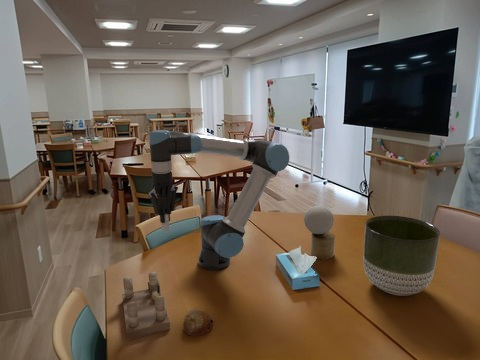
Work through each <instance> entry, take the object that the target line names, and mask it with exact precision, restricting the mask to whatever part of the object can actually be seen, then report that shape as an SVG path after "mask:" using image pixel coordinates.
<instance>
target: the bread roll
mask: <svg viewBox="0 0 480 360" xmlns="http://www.w3.org/2000/svg"><path fill="white" fill-rule="evenodd" d="M213 324H214V320H213V316H212V314H210V313H209V312H207V311H205V310H202V309H199V308H193V309H191V310H190V311H189V312H187V313H186V315H185V318H184V321H183V325H182V328H183V331H184V333H185V334H186V335H188V336H190V337H199V336H202V335H206V334H207V333H209V332H210V331H211V329H212V327H213Z"/></svg>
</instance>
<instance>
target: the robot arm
mask: <svg viewBox="0 0 480 360" xmlns="http://www.w3.org/2000/svg"><path fill="white" fill-rule="evenodd" d="M148 144H149V152H150V165H151V166H150V167H151V172H152V173H151V178H152V179H151V181H152V184H153V185H152V190H151V191H148V192H147V196H148V197H149V198H150V202H151V204H152V207H153V210H154V211H153V212H154V214H155V215H158V216H159V222H160V223H161V230H163V231H165V232H168V231H170V221H171V215H172V212H174V210H175V204H176V196H177V191H178V190H179V188H178V186H177V185H174V184H173V172H172V170H173V164H172V163H173V162H172V156H176V155H178V156H179V155H189V154H190V155H191V154H192V155H193V154H198V153H201V154H202V153H203V154H209V155H218V156H227V157H235V158H238V159H240V160H241V161H247V162H251V166H252V170H251V172H250V175H249V176H248V179H247V181H246V182H245V183H244V186H243V187H242V190H241V191H240V193H239V194H238V196H237V198H236V200H235V202H234V204H233V206H232V208H231V209H230V211H229V213H228V215H227V217H226V216H224V215H220V214H215V215H207V216H204V217H202V218H201V219H200V237H201V238H200V239H201V241H200V242H201V249H200V252H199V256H198V265H199V266H200V268H202V269H204V270H209V271H210V270H211V271H218V270H222V269H225V268H226V267H228V266H229V265H230V264H231V258H233V257H236V256H238V255H239V254H240V253H241V252H242V250H243V248H244V239H243V237H244V236H245V234H246V229H245V227H246V224H247V223H248V221H249V220H250V218H251V215H252V214H253V212H254V210H255V208H256V206H257V204H258V203H259V201H260V199H261V197H262V195H263V193H264V191H265V189H266V188H267V187H268V184H269V183H270V181H271V179H273V178H276V176H277V174H278V172H281V171H283V170H285V169H286V168H287V167H288V165H289V163H290V153H289V149H288V148H287V147H286V146H285V145H283V143H282V144H281V143H279V142H277V141H270V140H265V139H247V138H242V139H241V140H239V139H232V138H224V137H217V136H210V135H205V134H198V133H190V132H189V133H188V132H182V131H178V130H171V131H170V130H166V129H158V130H157V129H156V130H151V131H150V132H149V143H148Z"/></svg>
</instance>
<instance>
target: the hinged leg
mask: <svg viewBox="0 0 480 360" xmlns="http://www.w3.org/2000/svg"><path fill="white" fill-rule="evenodd" d="M148 282H149V285H150V293H152V301H155V300H154V299H155V297H157V296H159V294H158V293H157V292H158V282H159V279H158V272H157V271H151V272H149V273H148Z"/></svg>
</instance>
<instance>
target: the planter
mask: <svg viewBox="0 0 480 360" xmlns="http://www.w3.org/2000/svg"><path fill="white" fill-rule="evenodd" d="M364 224H365V225H364V234H363V235H364V237H363V255H362V264H363V269H364V272H365V274H366V277H367V279H368V280H369V281H370V282H371V283H372V285H374V286H375V287H376V288H377V289H379V290H381V291H383V292H385V293H387V294H390V295H393V296H398V297H400V296H401V297H403V296H405V297H406V296H407V297H408V296H413V295H416V294H419V293H421V292H423V291H425V289H427V287H428V286H429V285H430V283H431V282H432V279H433V278H434V274H435V271H436V263H437V256H438V252H439V244H440V239H441V231H440V229H438V228H437V226H436V225H435V226H434V225H433V224H432V223H429V222H427V221H424V220H421V219H418V218H413V217H410V216H409V217H407V216H402V215H401V216H400V215H377V216H373V217H371V218H368V219H367V220H366V221H365V223H364Z"/></svg>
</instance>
